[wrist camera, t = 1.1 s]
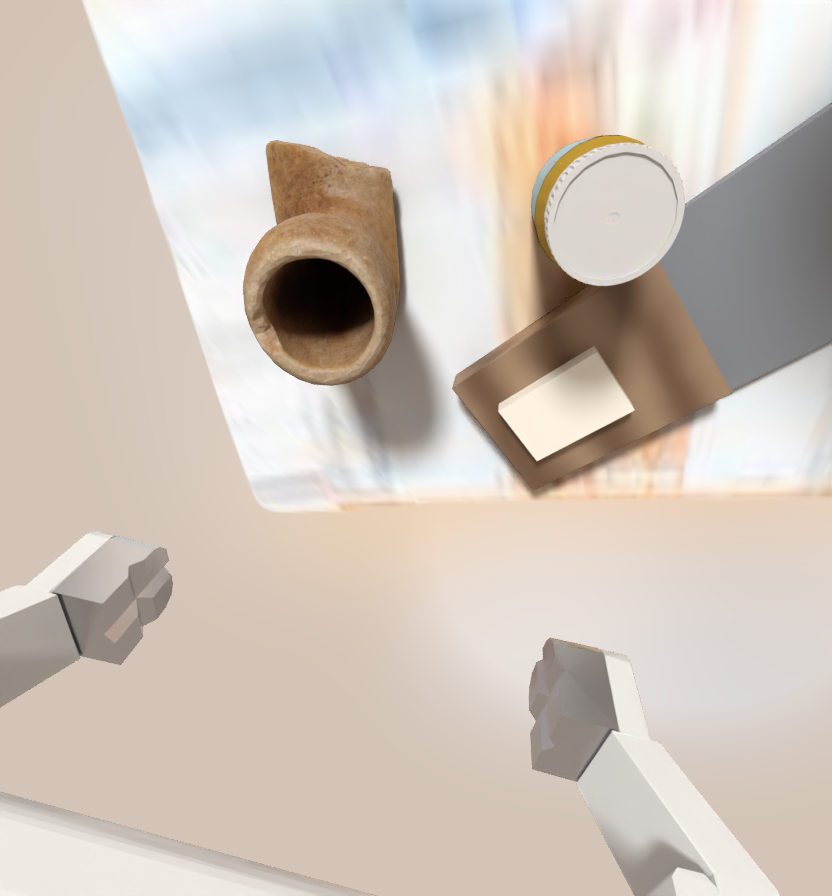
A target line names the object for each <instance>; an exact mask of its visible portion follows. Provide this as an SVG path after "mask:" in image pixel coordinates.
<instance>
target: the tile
mask: <svg viewBox="0 0 832 896" xmlns="http://www.w3.org/2000/svg"><path fill="white" fill-rule="evenodd" d="M633 411H635V409H634V407H633V405H632V403H631V401H630V400H629V398H628V397H627V395H626V393H625V392H624V390H623V389H622V387H621V386H620V384H619V383H618V381H617V380H616V378H615V377H614V375H613V374H612V372H611V370H610V369H609V367H608V366H607V364H606V363H605V361H604V360H603V358H602V357H601V355H600V354H599V352H598V351H597V349H596V348H595V346H593V347H591V348H589V349H588V350H586V351H585V352H583V353H581V354H580V355H578V356H576V357H575V358H573V359H571V360H570V361H568V362H567V363H565V364H563V365H562V366H560V367H558V368H557V369H555V370H553V371H552V372H550V373H548V374H547V375H545V376H544V377H542V378H540V379H539V380H537V381H535V382H534V383H532V384H530V385H529V386H527V387H526V388H524V389H522V390H521V391H519V392H517V393H516V394H514V395H512V396H511V397H509V398H507V399H506V400H504V401H503V402H501V403H499V409H498V412H499V413H500V414H501V416H502V417H503V418H504V420H505V421H506V422H507V423H508V425H509V426H510V427H511V429H512V430H513V431H514V432H515V434H516V435H517V436H518V438H519V439H520V440H521V441H522V443H523V444H524V445H525V447H526V448H527V449H528V450H529V452H530V453H531V454H532V456H533V457H534V458H535V460H536V461H539V460H541V459H542V458H544V457H546V456H548V455H550V454H552V453H554V452H556V451H558V450H560V449H562V448H564V447H566V446H567V445H569V444H571V443H573V442H575V441H577V440H579V439H581V438H583V437H585V436H587V435H589V434H590V433H592V432H594V431H596V430H598V429H600V428H602V427H604V426H606V425H608V424H610V423H612V422H614V421H615V420H617V419H619V418H621V417H623V416H625V415H627V414H629V413H631V412H633Z"/></svg>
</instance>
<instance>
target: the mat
mask: <svg viewBox="0 0 832 896" xmlns="http://www.w3.org/2000/svg"><path fill="white" fill-rule="evenodd" d="M659 263H660V265H661V267H662V269H663V270H664V272H665V274H666V276H667V278H668V279H669V281H670V283H671V285H672V286H673V288H674V290H675V292H676V294H677V295H678V297H679V299H680V301H681V303H682V304H683V306H684V308H685V310H686V311H687V313H688V315H689V317H690V319H691V320H692V322H693V324H694V326H695V328H696V329H697V331H698V333H699V335H700V336H701V338H702V340H703V342H704V344H705V345H706V347H707V349H708V351H709V353H710V354H711V356H712V358H713V360H714V361H715V363H716V365H717V367H718V369H719V370H720V372H721V374H722V376H723V378H724V379H725V381H726V383H727V385H728V386H729V388H730V390H733V389H735V388H737V387H739V386H741V385H743V384H745V383H747V382H749V381H752V380H754V379H756V378H758V377H760V376H762V375H764V374H766V373H768V372H770V371H772V370H774V369H776V368H778V367H780V366H782V365H784V364H786V363H788V362H790V361H792V360H794V359H796V358H798V357H800V356H802V355H804V354H806V353H808V352H810V351H812V350H814V349H816V348H818V347H820V346H822V345H825V344H827V343H829V342H831V341H832V103H831V104H829V105H828V106H826V107H825V108H824V109H822V110H821V111H819V112H818V113H816V114H815V115H813V116H812V117H811V118H809V119H808V120H806V121H805V122H803V123H802V124H800V125H799V126H798V127H796V128H795V129H793V130H792V131H790V132H789V133H787V134H786V135H784V136H783V137H782V138H780V139H779V140H777V141H776V142H774V143H773V144H771V145H770V146H769V147H767V148H766V149H764V150H763V151H761V152H760V153H758V154H757V155H756V156H754V157H753V158H751V159H750V160H748V161H747V162H745V163H744V164H743V165H741V166H740V167H738V168H737V169H735V170H734V171H732V172H731V173H730V174H728V175H727V176H725V177H724V178H722V179H721V180H719V181H718V182H716V183H715V184H714V185H712V186H711V187H709V188H708V189H706V190H705V191H703V192H702V193H701V194H699V195H698V196H696V197H695V198H693V199H692V200H690V201H689V202H688V203H686V204H685V208H684V215H683V220H682V223H681V227H680V229H679V232H678V234H677V236H676V238H675V240H674V242H673V244H672V245H671V247H670V248H669V250H668V251H667V252H666V254H665V255H664V256H663V257H662V258H661V259H660V261H659Z"/></svg>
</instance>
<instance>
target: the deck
mask: <svg viewBox="0 0 832 896" xmlns="http://www.w3.org/2000/svg"><path fill="white" fill-rule="evenodd" d="M593 346H595V348H596V349H597V351H598V352H599V354H600V355H601V357H602V358H603V360H604V361H605V363H606V364H607V366H608V367H609V369H610V370H611V372H612V374H613V375H614V377H615V378H616V380H617V381H618V383H619V384H620V386H621V387H622V389H623V390H624V392H625V393H626V395H627V397H628V398H629V400H630V401H631V403H632V405H633V407H634V409H635V411H633V412H631V413H629V414H627V415H625V416H623V417H621V418H619V419H617V420H615V421H614V422H612V423H610V424H608V425H606V426H604V427H602V428H600V429H598V430H596V431H594V432H592V433H590V434H589V435H587V436H585V437H583V438H581V439H579V440H577V441H575V442H573V443H571V444H569V445H567V446H566V447H564V448H562V449H560V450H558V451H556V452H554V453H552V454H550V455H548V456H546V457H544V458H542V459H541V460H539V461H536V460H535V458H534V457H533V456H532V454H531V453H530V452H529V450H528V449H527V448H526V447H525V445H524V444H523V443H522V441H521V440H520V439H519V438H518V436H517V435H516V434H515V432H514V431H513V430H512V429H511V427H510V426H509V425H508V423H507V422H506V421H505V420H504V418H503V417H502V416H501V414H500V413H499V412H498V409H499V403H501V402H503V401H504V400H506V399H507V398H509V397H511V396H512V395H514V394H516V393H517V392H519V391H521V390H522V389H524V388H526V387H527V386H529V385H530V384H532V383H534V382H535V381H537V380H539V379H540V378H542V377H544V376H545V375H547V374H548V373H550V372H552V371H553V370H555V369H557V368H558V367H560V366H562V365H563V364H565V363H567V362H568V361H570V360H571V359H573V358H575V357H576V356H578V355H580V354H581V353H583V352H585V351H586V350H588V349H589V348H591V347H593ZM452 389H453V390H454V391H455V393H456V394H457V395H458V396H459V398H460V399H461V400H462V401H463V403H464V404H465V405H466V406H467V408H468V409H469V410H470V411H471V413H472V414H473V415H474V416H475V418H476V419H477V420H478V421H479V423H480V424H481V425H482V426H483V428H484V429H485V430H486V431H487V433H488V434H489V435H490V436H491V438H492V439H493V440H494V441H495V443H496V444H497V445H498V446H499V448H500V449H501V450H502V451H503V453H504V454H505V455H506V456H507V458H508V459H509V460H510V461H511V463H512V464H513V465H514V466H515V468H516V469H517V470H518V471H519V473H520V474H521V475H522V476H523V478H524V479H525V480H526V481H527V483H528V484H529V485H530V486H531V488H532V489H533V490H536V489H538V488H540V487H542V486H544V485H546V484H548V483H550V482H552V481H554V480H556V479H558V478H560V477H562V476H564V475H566V474H568V473H570V472H572V471H574V470H576V469H578V468H580V467H583V466H585V465H587V464H589V463H591V462H593V461H595V460H597V459H599V458H601V457H603V456H605V455H607V454H609V453H611V452H613V451H615V450H617V449H619V448H621V447H623V446H625V445H627V444H629V443H631V442H633V441H636V440H638V439H640V438H642V437H644V436H646V435H648V434H650V433H652V432H654V431H656V430H658V429H660V428H662V427H664V426H666V425H668V424H670V423H672V422H674V421H676V420H678V419H680V418H682V417H684V416H687V415H689V414H691V413H693V412H695V411H697V410H699V409H701V408H703V407H705V406H707V405H709V404H711V403H713V402H715V401H717V400H719V399H721V398H723V397H725V396H727V395H729V394H731V393H732V392H731V390H730V388H729V386H728V385H727V383H726V381H725V379H724V378H723V376H722V374H721V372H720V370H719V369H718V367H717V365H716V363H715V361H714V360H713V358H712V356H711V354H710V353H709V351H708V349H707V347H706V345H705V344H704V342H703V340H702V338H701V336H700V335H699V333H698V331H697V329H696V328H695V326H694V324H693V322H692V320H691V319H690V317H689V315H688V313H687V311H686V310H685V308H684V306H683V304H682V303H681V301H680V299H679V297H678V295H677V294H676V292H675V290H674V288H673V286H672V285H671V283H670V281H669V279H668V278H667V276H666V274H665V272H664V270H663V269H662V267H661V265H660V263H659V262H658V263H656V264H655V265H654V266H653V267H652V268H651V269H649V270H648V271H647V272H645V273H644V274H642V275H640V276H638V277H637V278H634V279H632V280H630V281H627V282H624V283H621V284H617V285H610V286H597V285H591V284H590V285H589V286H587V287H586V288H584V289H583V290H581V291H580V292H579V293H577V294H576V295H574V296H573V297H571V298H570V299H568V300H567V301H565V302H564V303H562V304H561V305H559V306H558V307H556V308H555V309H553V310H552V311H550V312H549V313H547V314H546V315H544V316H543V317H542V318H540V319H539V320H537V321H536V322H534V323H533V324H531V325H530V326H528V327H527V328H525V329H524V330H522V331H521V332H519V333H518V334H516V335H515V336H513V337H512V338H510V339H509V340H507V341H506V342H505V343H503V344H502V345H500V346H499V347H497V348H496V349H494V350H493V351H491V352H490V353H488V354H487V355H485V356H484V357H482V358H481V359H479V360H478V361H476V362H475V363H473V364H472V365H470V366H469V367H468V368H466V369H465V370H463V371H462V372H460V373H459V374H457V375H456V377H455V381H454V384H453V388H452Z"/></svg>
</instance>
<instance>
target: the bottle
mask: <svg viewBox="0 0 832 896" xmlns="http://www.w3.org/2000/svg"><path fill="white" fill-rule="evenodd" d="M684 208H685V196H684V188H683V184H682V180H681V179H680V174H679V173H678V172H677V170H676V167H675V166H673V164H672V162H671V161H670V160H668V159H667V157H666V156H665V155H662V154H661V152H660V151H655V150H654V148H652V147H647V145H645V144H644V143H642V142H640V141H637V140H635V139H632V138H629V137H626V136H621V135H609V136H598V137H594V138H590V139H585V140H581V141H578V142H575V143H572V144H570V145H567V146H565V147H564V148H562V149H561V150H560V151H558V152H557V153H556V154H554V155H553V156H552V157H551V158H550V159H549V160H548V161H547V163H546V164H545V165H544V167H543V168H542V170H541V171H540V173H539V175H538V177H537V180H536V182H535V185H534V187H533V191H532V201H531V210H532V215H533V220H534V224H535V229H536V233H537V238H538V240H539V243H540V244H541V246H542V248H543V250H544V251H545V253H546V254H547V256H548V257H549V258H550V259H551V260H552V261H553V262H554V263H556V264H557V265H558V266H559V267H560V268H561V269H562V270H563V271H565V272H566V273H567V275H570V276H572V278H573V279H577V280H578V281H579V282H584V283H585V284H591V285H597V286H610V285H617V284H621V283H624V282H627V281H630V280H632V279H634V278H637V277H638V276H640V275H642V274H644V273H645V272H647V271H648V270H649V269H651V268H652V267H653V266H654V265H655V264H656V263H658V262H659V261H660V259H661V258H662V257H663V256H664V255H665V254H666V252H667V251H668V250H669V248H670V247H671V245H672V244H673V242H674V240H675V238H676V236H677V234H678V232H679V229H680V227H681V223H682V220H683V215H684Z"/></svg>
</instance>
